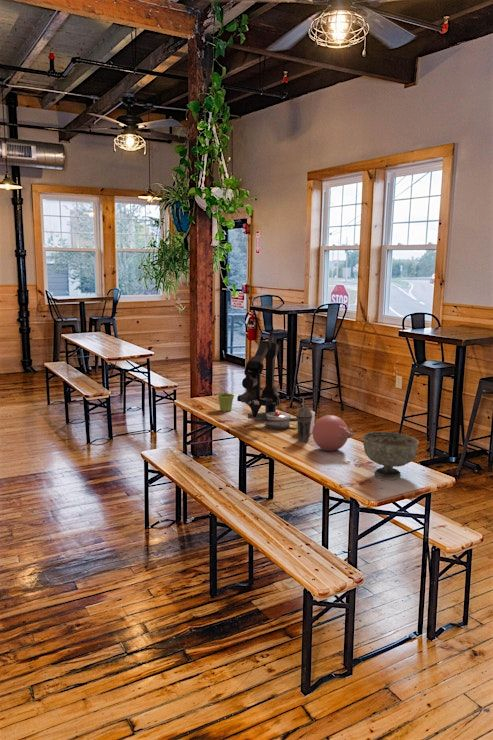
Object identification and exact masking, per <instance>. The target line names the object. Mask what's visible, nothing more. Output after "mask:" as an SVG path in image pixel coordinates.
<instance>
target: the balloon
mask: <svg viewBox="0 0 493 740" xmlns="http://www.w3.org/2000/svg"><path fill="white" fill-rule="evenodd" d="M351 437H354V431H353V429H351V428H350V429H349V428H348V426H347V424H346V422H345V421H344V420H343V419H342V418H341V417H339V416H336V415H331V414H328V415H327V414H326V415H324V416H323V415H322V417H320V418H319V419H317V420H316V422H314V427H313V431H312V439H313V441H314V443H315V445H316V446H317V447H319V448H320V449H322V450H324V451H327V452H328V451H329V452H335V451H338V450H340V449H341V448H343V446H345V444H346V442H348V440H349V439H351Z"/></svg>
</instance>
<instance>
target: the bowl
mask: <svg viewBox="0 0 493 740" xmlns="http://www.w3.org/2000/svg"><path fill="white" fill-rule="evenodd" d="M362 438H363V443H362V445H363V448H364V454H365V455H366V456H367V457H368V459H369V460H371V462H373V463H375V464H378V465H380V466H383V467H379V468H376V470H375V471H374V476H376V477H377V478H379V479H383V480H392V481H395V480H398V479H399V478H400V477H401V475H402V473H401V471H399V469H396V468H394V467H403V466H405V465H408V464H409V463H411V462H413V461H414V460H415V459H416V456H417V451H418V448H419V447H418V446H419V443H420V441H419V440H418V439H417V438H415V437H412V436H410V435H407V434H403V433H398V432H391V431H371V432H368V433H365V434H363V437H362Z"/></svg>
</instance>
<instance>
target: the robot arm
mask: <svg viewBox="0 0 493 740" xmlns="http://www.w3.org/2000/svg"><path fill="white" fill-rule="evenodd" d="M279 350H280V345H279V344H278V342H274V341H273V342H272V341H270V340H261V341H260V342H259V347H258V348H257V349H256V352H255V354H254V356H252V357H250V358H249V360H248V361H247V362H246V364H245V369H244V373H243V374H244V375H245V377H244V378H243V379H242V382H241V385H242V387H243V388H244V389H245V390H246V391H245V392H243V393H242V394H238V395H237V399H236V401H237V402H239V403H240V402H241V403H244V404H246V405H248V406H249V407H250V410H251V413H253V416H254V417H256V415H257V413H259V411H260V409H261V407H262V406H264V408H265V410H264V413H270V412H277V406H280V404H281V402H280V397H279V394H278V389H277V388H276V387H275V363H276V362H275V360H276V357H277V355H278V352H279ZM264 359H265V365H264ZM264 368H265V383H264V384H265V387H264V388H263V387H262V386H261V375H262V374H263V371H264Z"/></svg>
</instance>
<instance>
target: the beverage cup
mask: <svg viewBox="0 0 493 740" xmlns="http://www.w3.org/2000/svg"><path fill="white" fill-rule="evenodd" d="M311 411H312V410H310V409H309V408H308V407H305V398H302V407H301V408H299V409H298V410H297V412H296V417H295V418H297V421H296V422H297V424H296V425H297V437H298V442H301V443H307V442H309V439H310V434H309V433H310V425H311V420H312V413H311Z"/></svg>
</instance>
